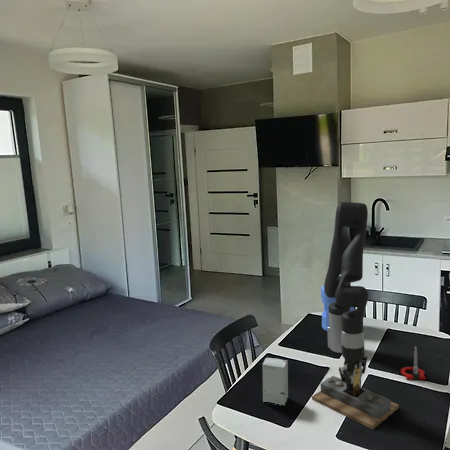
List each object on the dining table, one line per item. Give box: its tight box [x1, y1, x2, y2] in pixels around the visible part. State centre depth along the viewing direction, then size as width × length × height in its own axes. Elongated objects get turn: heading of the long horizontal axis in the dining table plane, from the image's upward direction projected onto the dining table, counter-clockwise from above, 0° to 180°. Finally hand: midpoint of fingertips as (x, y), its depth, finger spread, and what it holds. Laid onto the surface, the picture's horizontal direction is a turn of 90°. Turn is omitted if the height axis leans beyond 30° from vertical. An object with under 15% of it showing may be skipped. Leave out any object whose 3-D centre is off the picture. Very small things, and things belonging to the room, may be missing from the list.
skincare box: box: [262, 357, 289, 407], centre depth 151 cm, size 8×6×15 cm
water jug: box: [320, 285, 355, 332], centre depth 207 cm, size 16×16×28 cm
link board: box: [311, 375, 400, 430], centre depth 146 cm, size 24×16×5 cm, turn 40°
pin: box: [348, 367, 361, 397], centre depth 145 cm, size 5×5×10 cm
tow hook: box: [400, 346, 426, 381], centre depth 162 cm, size 8×13×9 cm
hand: (353, 389), depth 145 cm, fingers closed on pin, 4 cm apart
